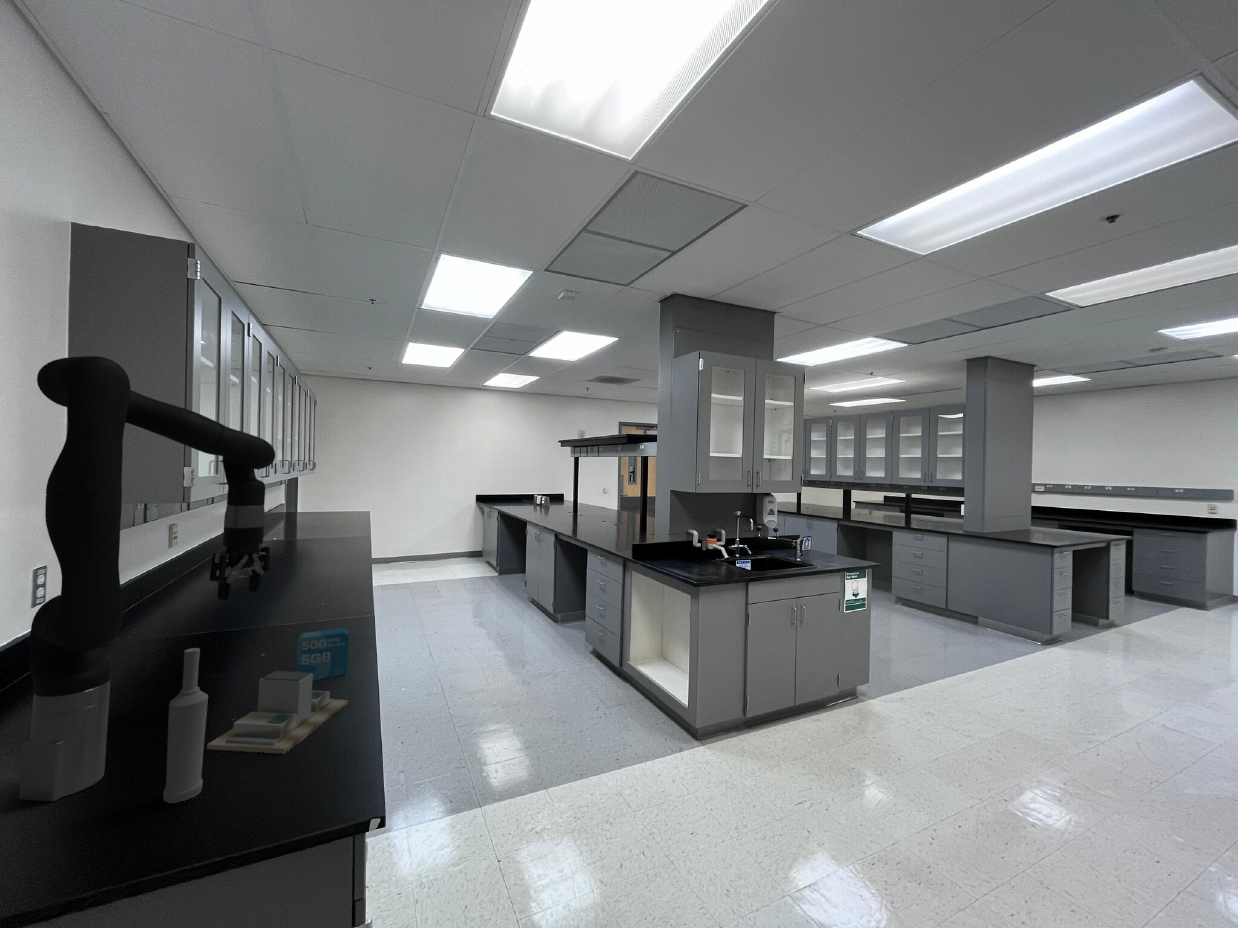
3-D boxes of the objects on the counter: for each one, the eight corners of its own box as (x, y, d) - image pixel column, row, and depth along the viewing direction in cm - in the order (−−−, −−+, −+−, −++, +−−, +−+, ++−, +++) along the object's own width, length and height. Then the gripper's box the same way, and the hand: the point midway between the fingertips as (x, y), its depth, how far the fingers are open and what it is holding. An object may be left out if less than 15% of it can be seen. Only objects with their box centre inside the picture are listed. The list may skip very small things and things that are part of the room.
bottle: (210, 786, 89) (218, 645, 90) (186, 806, 84) (195, 655, 85) (180, 786, 89) (189, 644, 90) (154, 805, 84) (163, 654, 85)
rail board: (284, 753, 100) (286, 732, 100) (207, 749, 101) (208, 727, 101) (347, 704, 122) (348, 686, 122) (283, 700, 123) (284, 682, 123)
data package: (295, 683, 133) (298, 638, 133) (295, 677, 136) (298, 633, 137) (347, 675, 139) (349, 631, 140) (345, 669, 143) (348, 627, 143)
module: (297, 723, 109) (299, 680, 110) (256, 721, 110) (259, 678, 110) (310, 713, 114) (313, 672, 114) (271, 711, 114) (274, 670, 114)
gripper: (234, 528, 109) (229, 603, 108) (282, 522, 123) (278, 589, 123) (201, 526, 109) (196, 601, 109) (253, 521, 123) (248, 587, 123)
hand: (239, 595), depth 116 cm, fingers open, 8 cm apart
